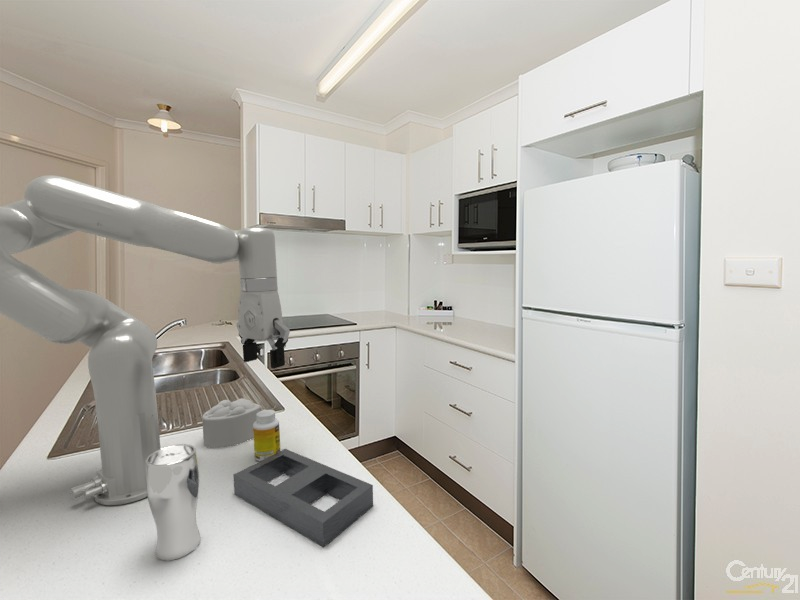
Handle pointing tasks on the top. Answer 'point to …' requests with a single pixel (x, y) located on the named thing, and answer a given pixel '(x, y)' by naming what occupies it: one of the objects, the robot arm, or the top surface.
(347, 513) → the cinder block
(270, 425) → the supplement bottle
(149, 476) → the beer glass
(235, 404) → the lumpy-topped squat cylinder
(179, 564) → the top surface
